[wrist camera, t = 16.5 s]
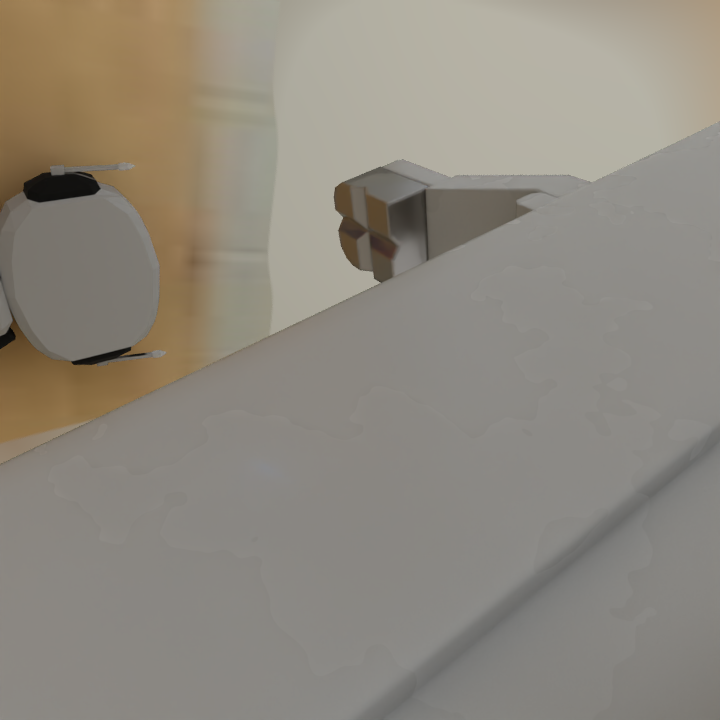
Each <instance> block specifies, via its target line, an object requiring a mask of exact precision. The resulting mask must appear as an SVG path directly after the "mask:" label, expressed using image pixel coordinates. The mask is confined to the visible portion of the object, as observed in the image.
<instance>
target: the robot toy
mask: <svg viewBox="0 0 720 720" xmlns="http://www.w3.org/2000/svg"><path fill="white" fill-rule="evenodd" d="M133 167H135V165H132V164H130V163H118V164H115V165H97V166H79V167H64V165H54V166H51V168H50V170H51V172H49V173H42V174H40V175H39V176H37V177H35V178H33V179H31V180H29V181H27V182H25V183H24V189H23V192H21V193H19V194H18V195H16V196H14V197H12V198H11V199H9V200H7V201H6V202H5V204H4V206H3V208H2V210H1V212H0V349H1V348H3V347H4V346H6V345H7V344H9V343H10V342H12V341H13V340H15V337H16V336H15V334H14V332H13V330H12V329H11V328H10V325H11V323H12V321H13V319H12V316H11V313H10V310H11V312H12V314H13V316H14V318H15V320H16V322H17V324H18V326H19V328H20V329H21V331H22V332H23V333H24V335H25V336H26V337H27V339H28V340H29V342H30V343H31V344H32V345H33V346H34V347H35V348H36V349H37V350H39V351H40V352H42V353H43V354H45V355H46V356H48V357H49V358H51V359H56V360H65V361H71V362H72V363H73V364H74V365H93V364H97V366H103V365H108V363H109V362H117V361H125V360H133V359H140V358H148V357H153V358H156V357H162V356H163V355H164V354H166V352H164V351H161V350H157V351H152V352H149V353H141V354H133V355H125V356H120V355H122V354H124V353H126V352H128V351H130V350H131V346H134V345H135V344H137V343H138V342H139V341H140V340H142V339H143V338H144V337H146V336H147V334H148V333H149V331H150V329H151V327H152V325H153V323H154V322H155V318H156V315H157V310H158V303H159V274H160V265H159V262H158V259H157V256H156V253H155V250H154V247H153V244H152V241H151V239H150V236H149V233H148V231H147V229H146V227H145V225H144V223H143V221H142V219H141V217H140V215H139V214H138V212H137V211H136V209H135V208H134V207H133V206H132V205H131V204H130V203H129V201H128V200H127V199H126V198H125V197H124V196H123V195H122V194H121V193H120V192H119V191H117V190H116V189H115V188H114V187H113V186H110V185H106V184H103V183H99V182H97V181H96V180H95V179H94V177H93V176H92V175H91V174H88V173H84V172H82V171H99V170H117V169H119V170H129V169H131V168H133ZM9 309H10V310H9Z"/></svg>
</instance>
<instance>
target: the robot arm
mask: <svg viewBox="0 0 720 720" xmlns="http://www.w3.org/2000/svg"><path fill="white" fill-rule="evenodd" d="M334 202H335V209H336V211H338V212H339V214H341V215H342V216H343V220H342V222H341V225H340V228H339V230H338V231H339V237H340V243H341V247H342V249H343V251H344V253H345V255H346V258H347V259H348V260H349V261H350V262H351V264H352V265H353V266H355V267H356V268H358V269H360V270H363V271H373V273H374V279H376V280H377V281H379V282H381V283H380V284H378V285H376V286H374V287H371V288H369V289H367V290H365V291H363V292H361V293H359V294H357V295H355V296H353V297H350V298H348V299H346V300H344V301H342V302H340V303H338V304H336V305H334V306H332V307H330V308H328V309H325V310H323V311H321V312H319V313H317V314H315V315H313V316H311V317H309V318H306V319H304V320H302V321H300V322H298V323H296V324H294V325H292V326H289V327H287V328H285V329H283V330H281V331H279V332H277V333H275V334H273V335H271V336H268V337H266V338H264V339H262V340H260V341H258V342H256V343H254V344H252V345H250V346H247V347H245V348H243V349H241V350H239V351H237V352H235V353H233V354H231V355H229V356H226V357H224V358H222V359H220V360H218V361H216V362H214V363H212V364H210V365H207V366H205V367H203V368H201V369H199V370H197V371H195V372H193V373H191V374H189V375H186V376H184V377H182V378H180V379H178V380H176V381H174V382H172V383H170V384H168V385H165V386H163V387H161V388H159V389H157V390H155V391H153V392H151V393H149V394H147V395H144V396H142V397H140V398H138V399H136V400H134V401H132V402H130V403H128V404H126V405H123V406H121V407H119V408H117V409H115V410H113V411H111V412H109V413H107V414H104V415H102V416H100V417H98V418H96V419H94V420H92V421H90V422H88V423H86V424H84V425H81V426H79V427H77V428H75V429H73V430H71V431H69V432H67V433H65V434H62V435H60V436H58V437H56V438H54V439H52V440H50V441H48V442H46V443H44V444H41V445H40V446H37V447H35V448H33V449H31V450H29V451H27V452H25V453H23V454H20V455H19V456H16V457H14V458H12V459H10V460H8V461H6V462H4V463H1V464H0V720H720V121H719V122H718V123H715V124H713V125H711V126H709V127H707V128H705V129H703V130H701V131H699V132H697V133H695V134H693V135H691V136H688V137H686V138H684V139H682V140H680V141H678V142H676V143H674V144H672V145H670V146H667V147H666V148H663V149H661V150H659V151H657V152H655V153H653V154H651V155H649V156H647V157H644V158H642V159H640V160H639V161H636V162H634V163H632V164H630V165H628V166H626V167H624V168H621V169H619V170H617V171H615V172H613V173H611V174H609V175H607V176H605V177H602V178H600V179H598V180H596V181H594V182H589V181H586V180H583V179H579V178H576V177H573V176H570V175H457V176H454V177H452V178H451V177H448V176H446V175H443V174H440V173H438V172H435V171H432V170H430V169H427V168H424V167H422V166H419V165H416V164H414V163H411V162H408V161H406V160H403V159H402V160H397V161H394V162H392V163H390V164H387V165H385V166H383V167H378V168H376V169H374V170H371V171H369V172H366V173H364V174H362V175H359V176H357V177H354V178H352V179H350V180H347V181H345V182H342V183H341V184H339V185H338V186H337V187H335V192H334Z"/></svg>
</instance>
